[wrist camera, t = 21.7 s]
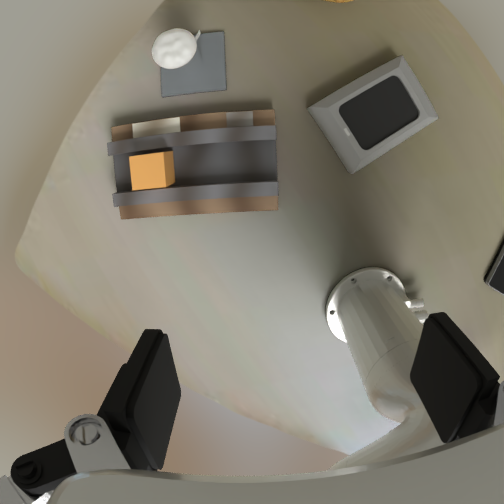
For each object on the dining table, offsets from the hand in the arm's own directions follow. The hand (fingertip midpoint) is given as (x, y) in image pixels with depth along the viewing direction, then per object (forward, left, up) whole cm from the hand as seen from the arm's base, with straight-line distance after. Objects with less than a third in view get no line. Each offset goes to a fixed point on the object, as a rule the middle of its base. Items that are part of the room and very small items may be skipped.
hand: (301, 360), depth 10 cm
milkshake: (+8, -18, -30) cm, 36 cm away
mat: (+9, -18, -30) cm, 36 cm away
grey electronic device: (-14, -11, -31) cm, 36 cm away
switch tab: (+13, -5, -28) cm, 32 cm away
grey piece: (+9, -5, -30) cm, 32 cm away
